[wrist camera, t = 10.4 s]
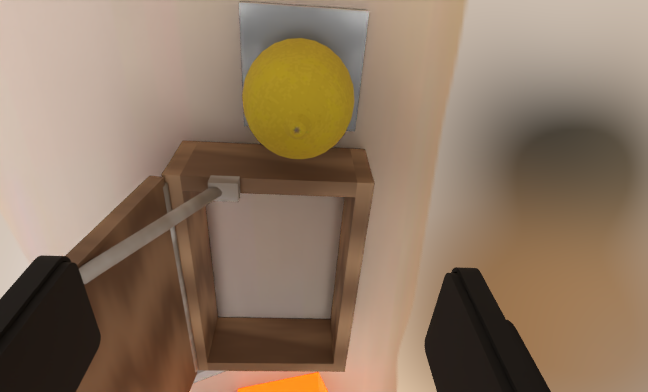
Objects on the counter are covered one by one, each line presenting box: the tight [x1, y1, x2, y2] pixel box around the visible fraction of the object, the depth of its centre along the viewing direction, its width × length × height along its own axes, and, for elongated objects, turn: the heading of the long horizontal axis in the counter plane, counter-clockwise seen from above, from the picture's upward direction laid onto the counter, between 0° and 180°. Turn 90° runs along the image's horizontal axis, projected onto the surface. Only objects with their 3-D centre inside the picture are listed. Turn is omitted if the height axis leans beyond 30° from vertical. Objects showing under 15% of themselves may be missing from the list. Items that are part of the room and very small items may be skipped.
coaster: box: [239, 1, 369, 131], centre depth 23 cm, size 7×7×1 cm
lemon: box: [242, 38, 354, 159], centre depth 20 cm, size 6×6×8 cm
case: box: [66, 141, 375, 392], centre depth 24 cm, size 18×15×17 cm
